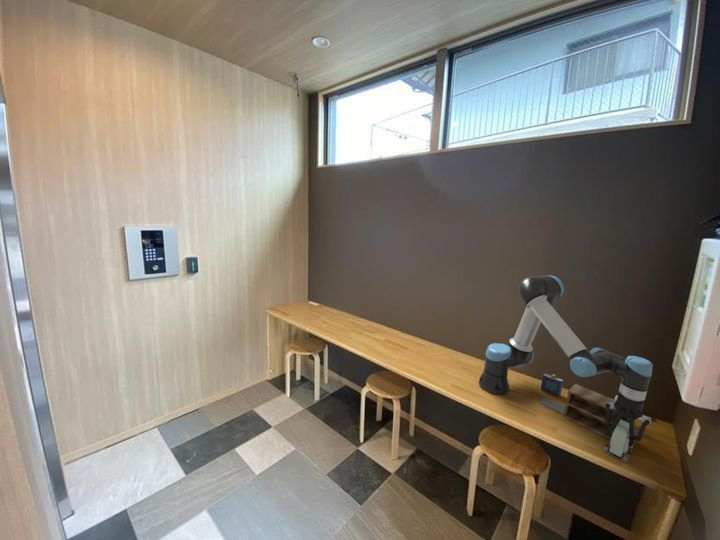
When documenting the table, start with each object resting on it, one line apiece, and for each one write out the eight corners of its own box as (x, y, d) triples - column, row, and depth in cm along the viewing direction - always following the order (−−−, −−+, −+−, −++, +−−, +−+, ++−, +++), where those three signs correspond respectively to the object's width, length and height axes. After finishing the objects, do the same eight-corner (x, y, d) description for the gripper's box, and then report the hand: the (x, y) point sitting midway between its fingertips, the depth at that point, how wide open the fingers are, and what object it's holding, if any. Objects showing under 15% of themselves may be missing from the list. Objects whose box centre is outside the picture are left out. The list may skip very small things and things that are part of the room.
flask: (560, 395, 156) (564, 376, 154) (560, 397, 154) (563, 379, 151) (540, 388, 162) (543, 370, 159) (539, 390, 159) (543, 372, 157)
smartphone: (544, 397, 153) (579, 412, 142) (544, 398, 153) (579, 413, 142) (539, 402, 148) (575, 418, 137) (539, 404, 148) (574, 420, 137)
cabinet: (563, 416, 139) (568, 390, 136) (569, 409, 144) (575, 383, 141) (624, 446, 122) (631, 416, 119) (629, 437, 127) (636, 408, 124)
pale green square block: (609, 451, 117) (614, 429, 115) (615, 440, 123) (621, 419, 121) (623, 458, 114) (629, 436, 112) (629, 447, 120) (635, 425, 118)
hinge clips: (603, 451, 119) (604, 446, 118) (610, 440, 125) (611, 435, 124) (626, 463, 113) (627, 457, 113) (631, 451, 119) (633, 446, 119)
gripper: (601, 388, 118) (590, 439, 123) (659, 411, 106) (644, 466, 110) (607, 382, 123) (595, 431, 128) (662, 403, 110) (648, 457, 115)
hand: (618, 447), depth 119 cm, fingers closed on pale green square block, 3 cm apart
